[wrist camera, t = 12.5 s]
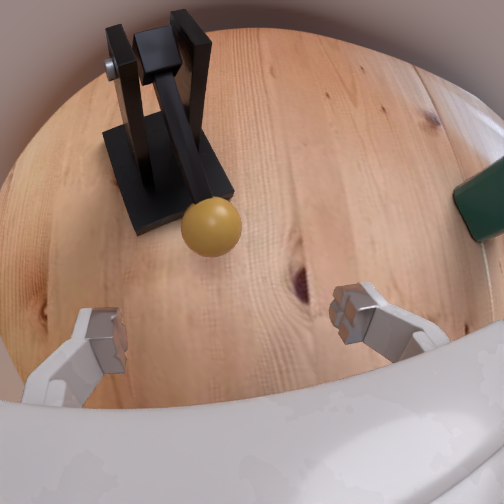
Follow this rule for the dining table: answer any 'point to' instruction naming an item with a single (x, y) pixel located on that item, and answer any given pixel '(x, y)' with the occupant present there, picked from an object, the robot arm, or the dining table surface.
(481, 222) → the pitcher
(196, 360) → the dining table surface
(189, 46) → the stand
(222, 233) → the lever
